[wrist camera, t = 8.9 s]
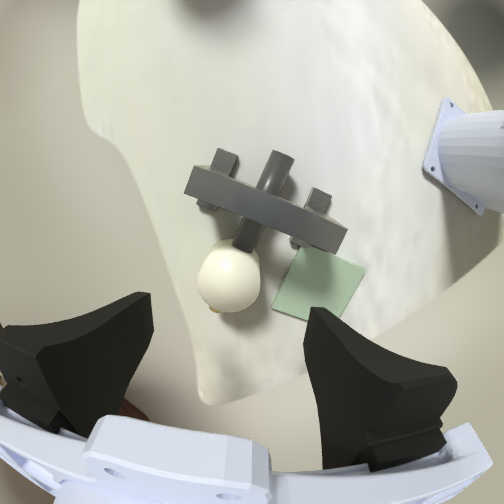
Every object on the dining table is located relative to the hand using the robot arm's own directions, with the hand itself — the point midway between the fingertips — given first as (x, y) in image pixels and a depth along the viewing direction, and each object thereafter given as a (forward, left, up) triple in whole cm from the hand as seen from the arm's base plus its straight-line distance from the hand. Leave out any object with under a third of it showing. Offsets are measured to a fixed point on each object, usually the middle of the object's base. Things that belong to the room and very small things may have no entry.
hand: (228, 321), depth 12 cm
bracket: (0, -5, -10) cm, 11 cm away
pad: (-7, 0, -10) cm, 12 cm away
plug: (0, -2, -10) cm, 10 cm away
